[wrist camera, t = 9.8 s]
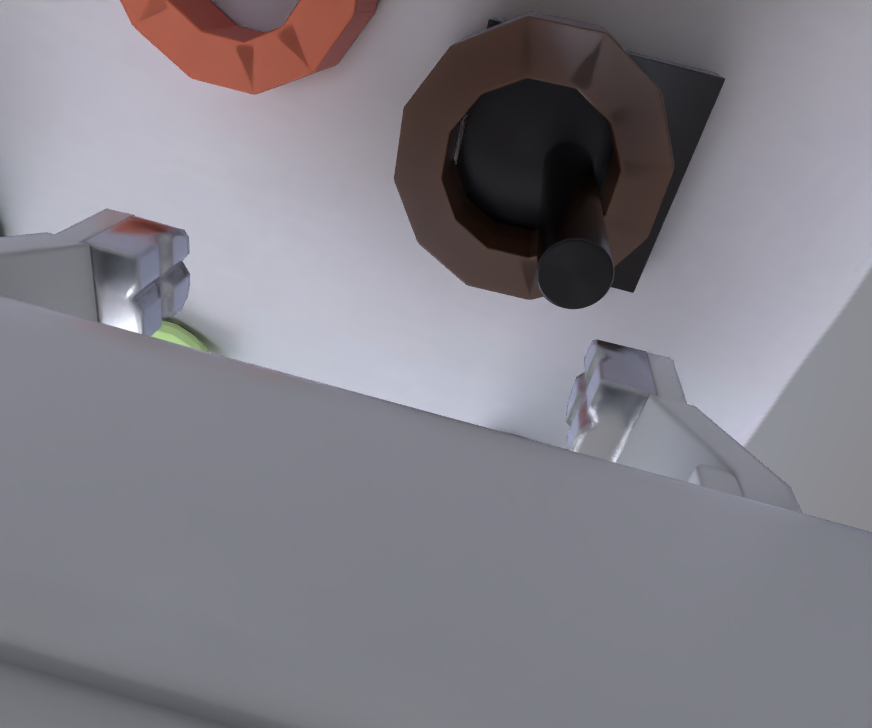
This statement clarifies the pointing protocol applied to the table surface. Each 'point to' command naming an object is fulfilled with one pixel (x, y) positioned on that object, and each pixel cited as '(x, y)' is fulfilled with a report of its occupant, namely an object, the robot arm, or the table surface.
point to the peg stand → (571, 172)
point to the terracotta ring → (250, 40)
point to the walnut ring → (503, 65)
